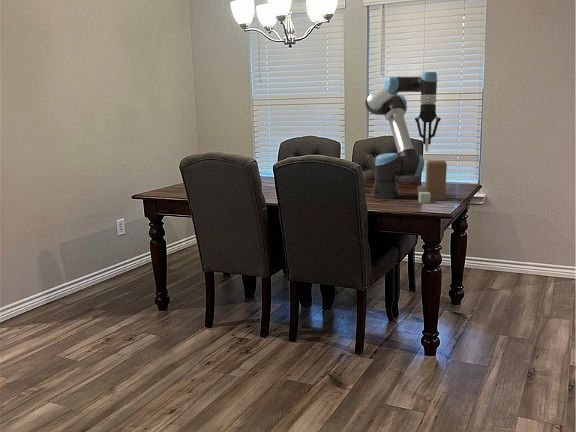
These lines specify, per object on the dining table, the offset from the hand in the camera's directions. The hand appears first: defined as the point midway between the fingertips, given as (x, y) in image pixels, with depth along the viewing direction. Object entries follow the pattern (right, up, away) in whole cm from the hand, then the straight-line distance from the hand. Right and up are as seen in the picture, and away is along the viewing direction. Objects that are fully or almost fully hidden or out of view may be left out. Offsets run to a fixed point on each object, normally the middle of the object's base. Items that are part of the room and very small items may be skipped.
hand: (426, 150), depth 289 cm
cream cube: (+4, -22, +25) cm, 33 cm away
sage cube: (0, -26, +5) cm, 27 cm away
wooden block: (+8, -24, +14) cm, 29 cm away
